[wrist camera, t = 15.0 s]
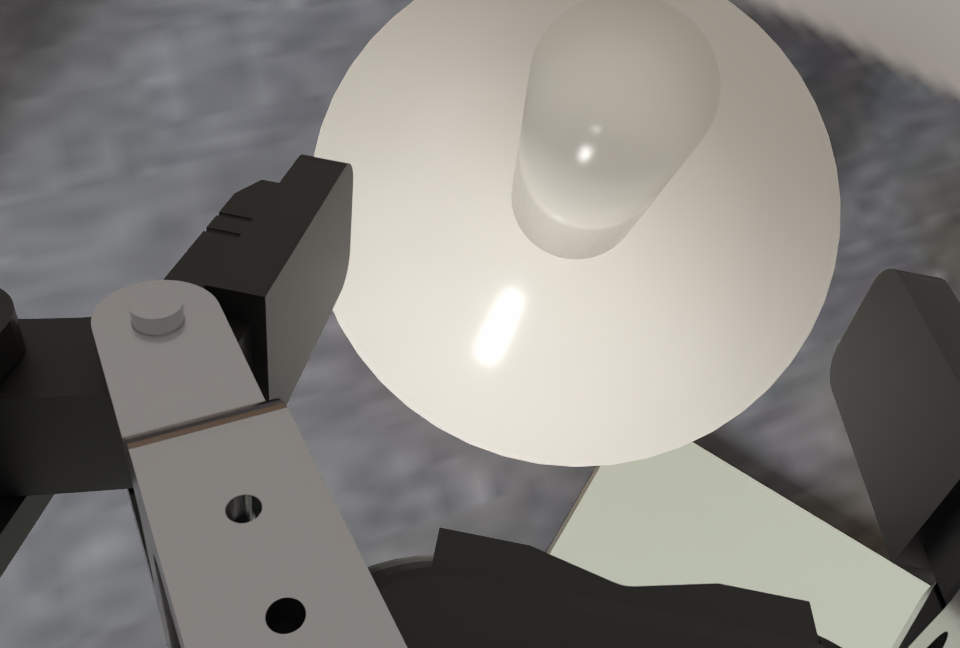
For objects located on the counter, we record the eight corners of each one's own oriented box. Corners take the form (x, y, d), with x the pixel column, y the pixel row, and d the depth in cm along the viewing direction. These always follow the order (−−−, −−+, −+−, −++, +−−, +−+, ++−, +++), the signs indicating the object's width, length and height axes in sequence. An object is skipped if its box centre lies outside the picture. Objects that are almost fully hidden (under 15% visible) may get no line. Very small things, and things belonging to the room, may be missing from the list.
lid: (220, 294, 22) (66, 216, 14) (482, -109, 24) (486, -395, 16) (667, 565, 22) (791, 656, 13) (908, 125, 23) (1154, -45, 15)
